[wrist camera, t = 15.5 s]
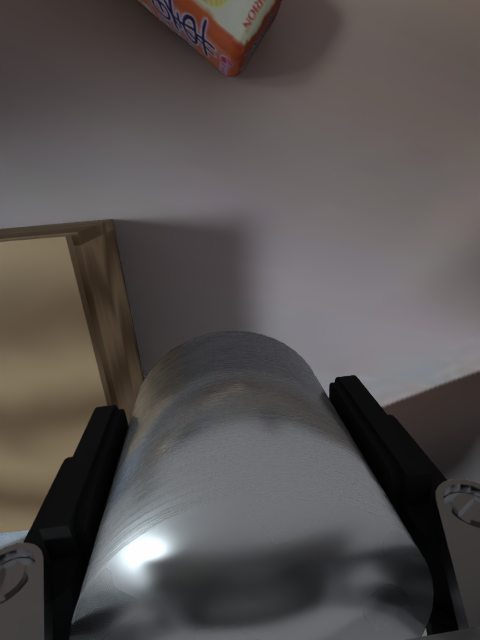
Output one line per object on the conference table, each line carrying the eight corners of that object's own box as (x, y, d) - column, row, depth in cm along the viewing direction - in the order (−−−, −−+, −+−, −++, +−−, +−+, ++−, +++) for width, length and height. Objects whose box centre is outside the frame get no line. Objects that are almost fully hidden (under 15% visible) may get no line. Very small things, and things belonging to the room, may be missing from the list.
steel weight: (116, 343, 10) (18, 535, 5) (322, 320, 11) (457, 471, 5) (152, 500, 12) (113, 759, 7) (321, 476, 13) (414, 702, 7)
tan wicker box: (-99, 237, 30) (-216, 258, 21) (112, 219, 30) (77, 232, 22) (-11, 452, 37) (-72, 528, 29) (154, 432, 38) (140, 500, 30)
